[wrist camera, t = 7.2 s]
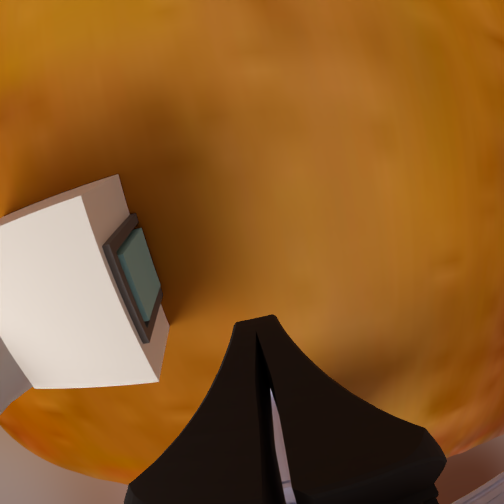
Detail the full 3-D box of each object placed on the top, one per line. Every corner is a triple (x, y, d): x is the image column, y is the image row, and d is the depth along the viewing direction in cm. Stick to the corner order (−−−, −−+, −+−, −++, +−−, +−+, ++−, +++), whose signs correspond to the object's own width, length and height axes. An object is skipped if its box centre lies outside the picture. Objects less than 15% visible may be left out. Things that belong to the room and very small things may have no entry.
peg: (141, 227, 18) (123, 254, 15) (160, 285, 20) (149, 320, 16) (41, 254, 18) (12, 282, 15) (63, 304, 20) (40, 336, 16)
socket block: (124, 172, 17) (88, 193, 12) (174, 325, 22) (165, 380, 17) (3, 216, 17) (-44, 245, 12) (60, 342, 22) (34, 388, 16)
